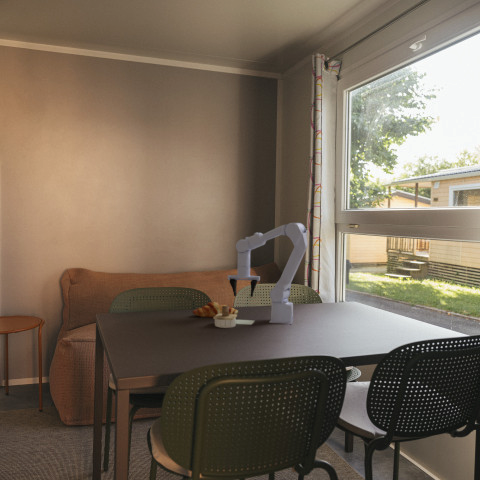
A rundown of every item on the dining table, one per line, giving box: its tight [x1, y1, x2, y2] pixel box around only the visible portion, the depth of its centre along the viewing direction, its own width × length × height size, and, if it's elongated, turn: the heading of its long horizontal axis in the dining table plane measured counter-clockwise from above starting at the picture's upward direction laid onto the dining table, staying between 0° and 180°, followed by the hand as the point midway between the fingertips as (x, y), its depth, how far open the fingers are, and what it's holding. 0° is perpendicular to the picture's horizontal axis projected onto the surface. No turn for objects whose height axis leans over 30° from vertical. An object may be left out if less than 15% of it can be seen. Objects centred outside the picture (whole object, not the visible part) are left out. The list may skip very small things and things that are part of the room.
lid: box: [212, 305, 238, 320], centre depth 187 cm, size 8×8×5 cm
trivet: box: [235, 319, 255, 325], centre depth 194 cm, size 9×8×1 cm
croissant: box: [192, 301, 239, 318], centre depth 208 cm, size 21×10×8 cm, turn 106°
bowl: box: [214, 317, 237, 329], centre depth 187 cm, size 8×8×4 cm
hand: (243, 296), depth 204 cm, fingers open, 7 cm apart
